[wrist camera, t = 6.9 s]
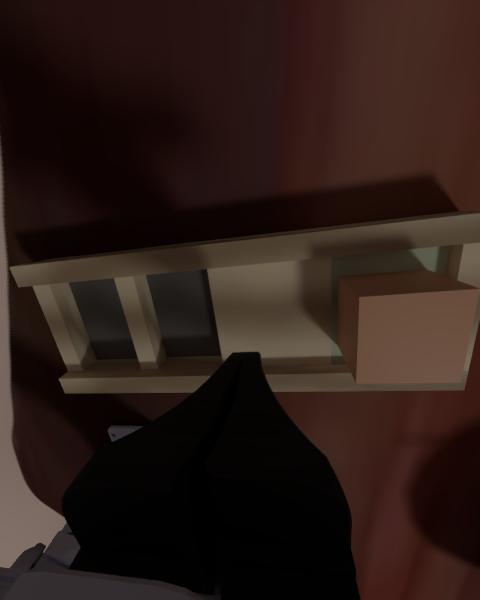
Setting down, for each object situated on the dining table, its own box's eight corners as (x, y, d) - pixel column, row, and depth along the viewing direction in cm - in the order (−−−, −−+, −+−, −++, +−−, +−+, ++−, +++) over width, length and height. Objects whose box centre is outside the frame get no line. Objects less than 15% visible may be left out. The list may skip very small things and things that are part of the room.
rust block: (416, 342, 16) (460, 382, 12) (337, 345, 17) (356, 383, 13) (426, 269, 14) (480, 288, 11) (338, 276, 15) (359, 297, 11)
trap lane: (435, 363, 18) (464, 390, 16) (90, 371, 23) (64, 393, 20) (459, 211, 15) (503, 210, 12) (46, 259, 20) (9, 267, 17)
